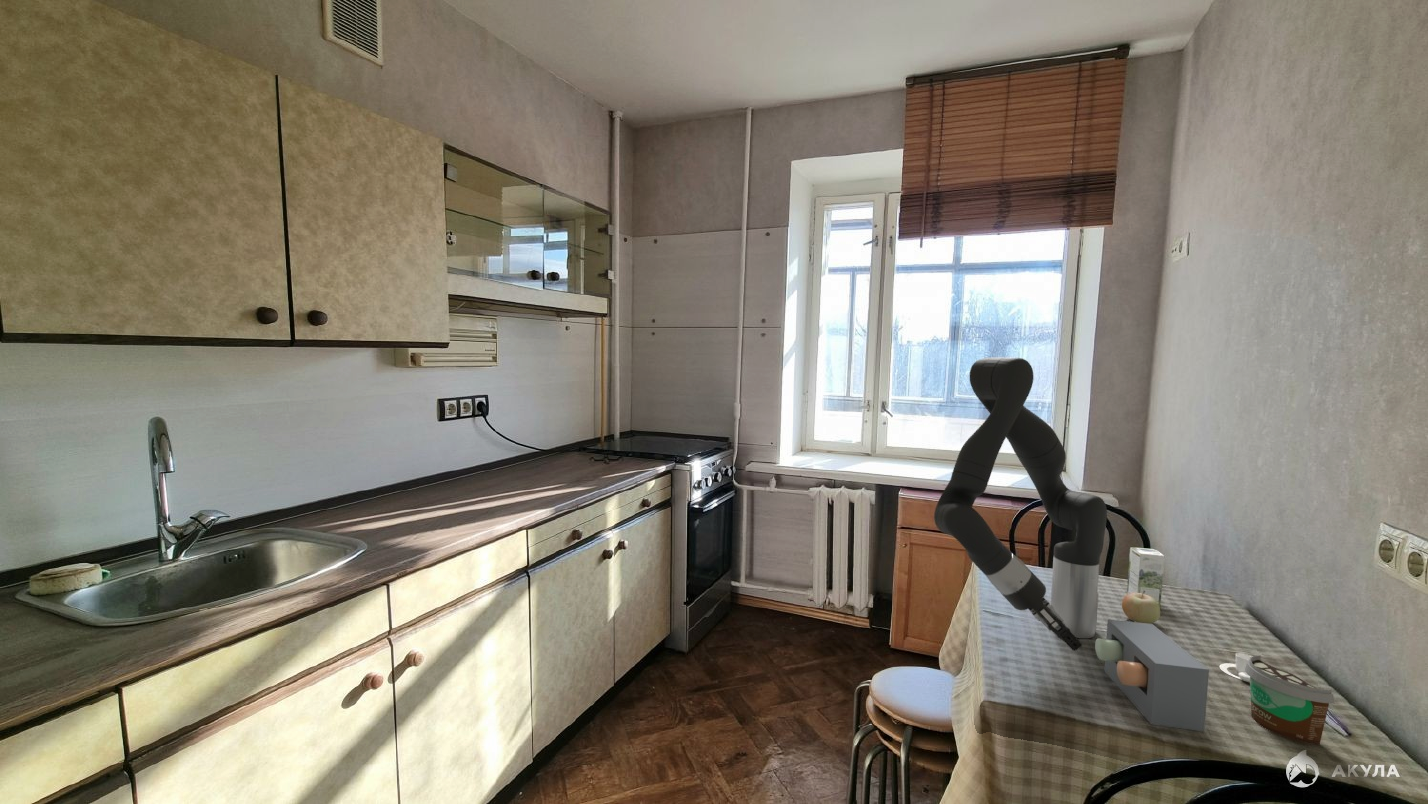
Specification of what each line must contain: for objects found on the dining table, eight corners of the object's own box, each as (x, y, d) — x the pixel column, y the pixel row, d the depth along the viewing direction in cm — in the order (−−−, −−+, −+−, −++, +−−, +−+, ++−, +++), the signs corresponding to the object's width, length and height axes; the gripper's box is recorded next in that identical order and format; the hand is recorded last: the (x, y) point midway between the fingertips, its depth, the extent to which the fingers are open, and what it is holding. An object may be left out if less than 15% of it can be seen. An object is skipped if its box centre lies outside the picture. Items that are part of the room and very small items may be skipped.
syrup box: (1149, 599, 155) (1153, 548, 154) (1161, 608, 149) (1165, 554, 148) (1125, 597, 156) (1129, 546, 155) (1136, 606, 150) (1140, 552, 149)
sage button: (1103, 663, 110) (1105, 643, 110) (1094, 653, 114) (1095, 634, 114) (1126, 666, 110) (1128, 646, 109) (1116, 656, 113) (1118, 637, 113)
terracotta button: (1126, 688, 102) (1128, 667, 101) (1116, 677, 106) (1117, 656, 105) (1152, 692, 101) (1153, 670, 101) (1140, 680, 105) (1141, 659, 104)
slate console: (1151, 724, 99) (1155, 663, 98) (1104, 671, 116) (1107, 619, 116) (1204, 731, 97) (1209, 669, 96) (1148, 676, 115) (1152, 623, 114)
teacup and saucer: (1263, 691, 111) (1265, 671, 111) (1211, 672, 118) (1213, 653, 117) (1277, 679, 115) (1279, 660, 115) (1227, 662, 122) (1228, 643, 122)
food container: (1222, 706, 105) (1226, 654, 104) (1252, 705, 105) (1257, 653, 105) (1296, 751, 92) (1301, 692, 92) (1330, 749, 93) (1335, 691, 92)
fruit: (1147, 616, 144) (1149, 585, 143) (1165, 629, 137) (1167, 597, 136) (1114, 613, 145) (1116, 583, 145) (1130, 626, 138) (1132, 594, 137)
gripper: (1040, 580, 108) (1108, 651, 106) (1018, 558, 121) (1079, 621, 119) (1008, 604, 109) (1074, 674, 107) (990, 580, 122) (1049, 642, 120)
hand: (1076, 646), depth 113 cm, fingers closed
